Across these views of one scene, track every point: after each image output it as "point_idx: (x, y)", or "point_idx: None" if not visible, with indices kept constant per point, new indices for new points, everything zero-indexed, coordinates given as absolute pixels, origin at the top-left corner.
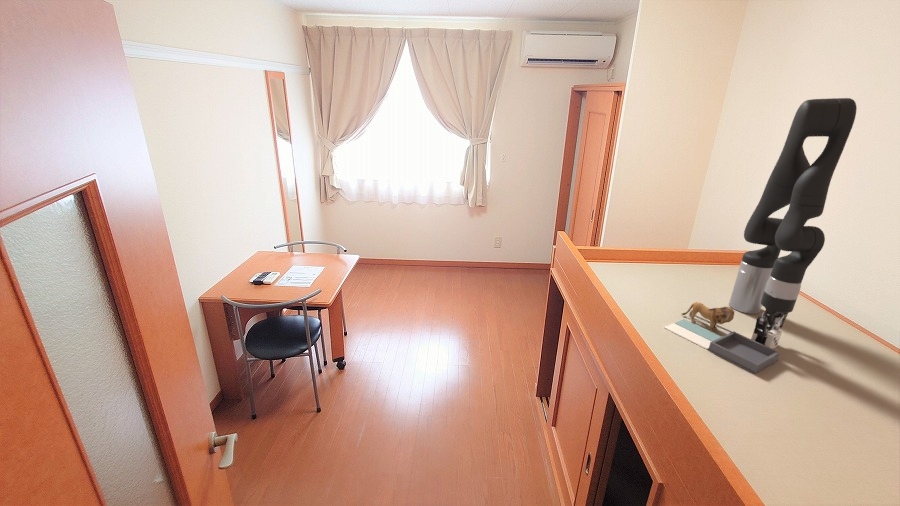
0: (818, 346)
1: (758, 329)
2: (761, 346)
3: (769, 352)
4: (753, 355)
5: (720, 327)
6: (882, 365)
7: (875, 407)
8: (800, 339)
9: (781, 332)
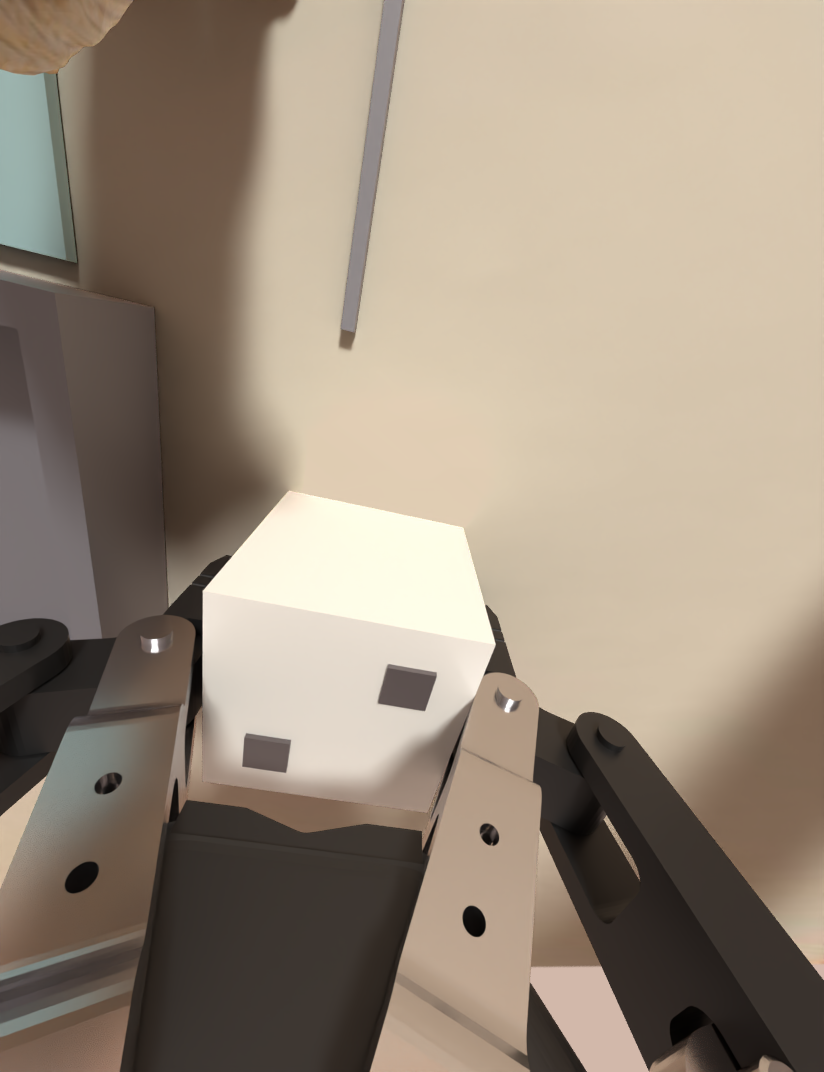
0: None
1: (109, 672)
2: None
3: None
4: (1, 582)
5: (385, 31)
6: None
7: None
8: (688, 739)
9: (413, 808)
